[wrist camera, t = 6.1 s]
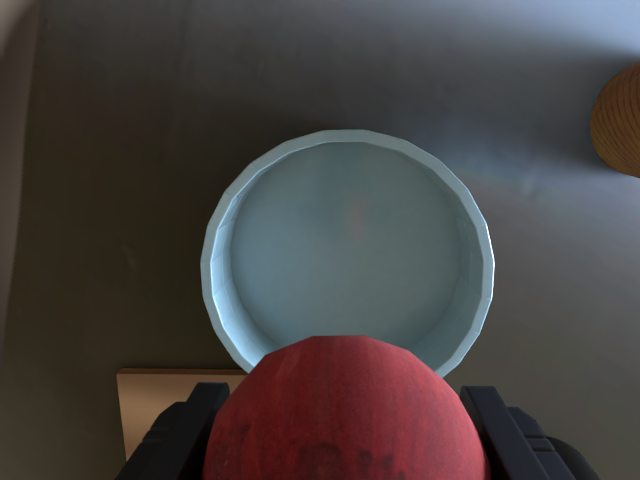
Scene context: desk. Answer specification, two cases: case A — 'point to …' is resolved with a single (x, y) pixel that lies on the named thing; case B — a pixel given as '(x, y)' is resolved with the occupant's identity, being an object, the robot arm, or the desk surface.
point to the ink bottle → (574, 460)
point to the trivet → (160, 395)
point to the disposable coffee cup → (619, 122)
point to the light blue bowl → (347, 250)
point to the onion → (344, 418)
